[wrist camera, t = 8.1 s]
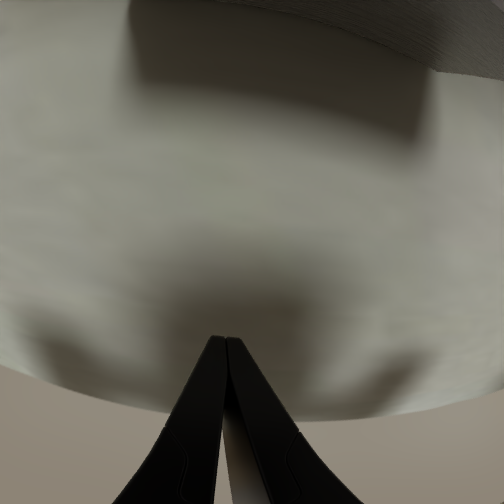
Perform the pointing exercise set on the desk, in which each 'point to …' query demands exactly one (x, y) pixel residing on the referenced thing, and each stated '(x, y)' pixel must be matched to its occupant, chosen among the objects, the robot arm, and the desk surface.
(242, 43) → the desk surface
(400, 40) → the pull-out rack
